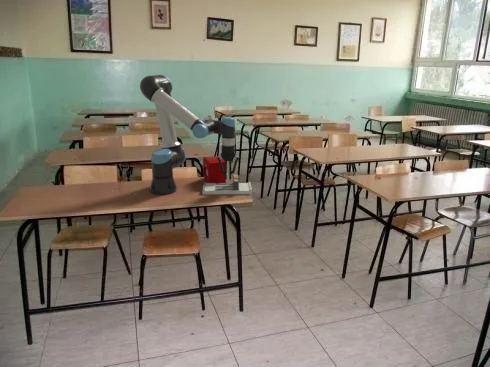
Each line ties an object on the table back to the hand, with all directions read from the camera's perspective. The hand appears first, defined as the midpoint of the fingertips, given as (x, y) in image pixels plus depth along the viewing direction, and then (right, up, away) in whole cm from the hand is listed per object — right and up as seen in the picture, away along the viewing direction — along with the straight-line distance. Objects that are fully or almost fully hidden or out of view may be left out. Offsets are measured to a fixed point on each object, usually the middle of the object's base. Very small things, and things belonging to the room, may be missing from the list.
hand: (227, 184), depth 234 cm
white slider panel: (0, -3, +1) cm, 3 cm away
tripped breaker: (+5, -1, 0) cm, 5 cm away
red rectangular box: (-9, +2, +18) cm, 20 cm away
